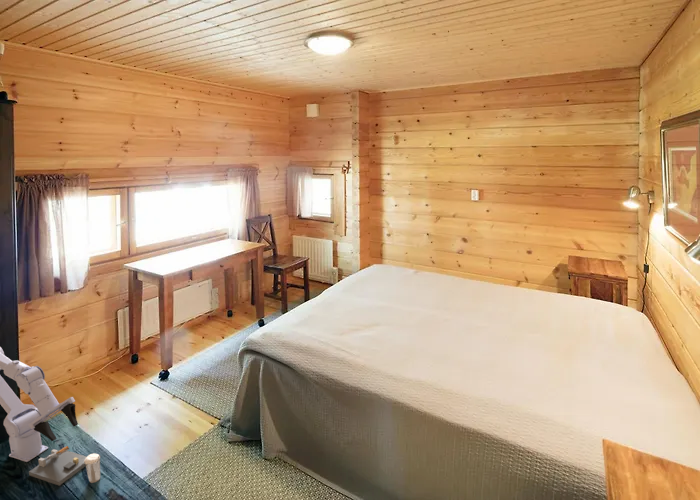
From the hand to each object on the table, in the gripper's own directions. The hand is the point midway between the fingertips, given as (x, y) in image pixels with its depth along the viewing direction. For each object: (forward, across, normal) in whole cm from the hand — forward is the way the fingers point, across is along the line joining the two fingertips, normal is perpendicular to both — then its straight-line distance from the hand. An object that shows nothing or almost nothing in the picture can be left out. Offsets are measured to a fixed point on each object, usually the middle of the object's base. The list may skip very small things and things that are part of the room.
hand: (65, 432), depth 142 cm
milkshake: (+19, 0, 0) cm, 19 cm away
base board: (+9, -10, +7) cm, 15 cm away
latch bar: (+5, -8, +5) cm, 11 cm away
